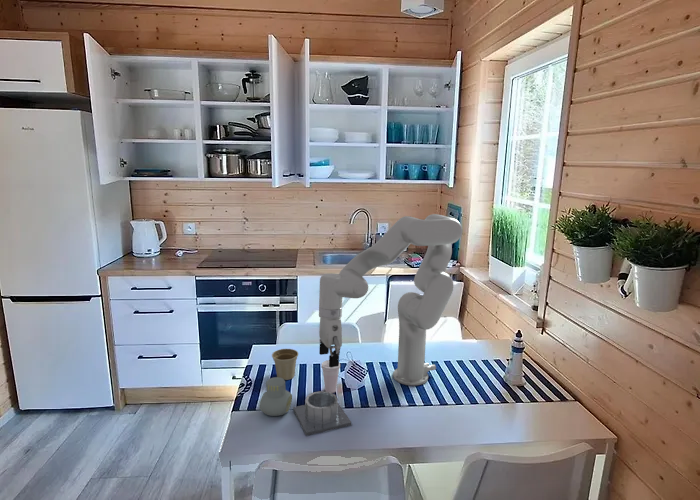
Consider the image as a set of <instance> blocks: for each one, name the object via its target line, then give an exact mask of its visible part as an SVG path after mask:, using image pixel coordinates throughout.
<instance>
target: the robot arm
mask: <svg viewBox="0 0 700 500" xmlns="http://www.w3.org/2000/svg"><path fill="white" fill-rule="evenodd" d="M462 234H463V226H462V224H461V223H460V222H459V220H457V219H456V218H453V217H451V216H450V217H449V216H446V215H442V214H438V213H437V214H436V213H432V214H429V215H427V216H426V217H425V219H420V218H417V217H414V216H407V215H404V216H402V217H400V218H399V219H398V220H397V221H396V222H395V223H394V224H393V225H392V226H391V227H390V228H389V229H388V230H387V231H386V232H385V233H384V234H383V235H382V236H381V237H380V238H379V239H378V240H377V241H376V243H374V244H373V245H372V246H370V247H368V248H366V249H364V250H363V251H362V252H360V253H357V255H355V256H354V257H353V258H352V259H350V261H349V262H348V263H347V264H346V265H345V266H344V267H343V268H342V269H341V270H340V271H339V273H338V274H337V273H324V274H322V275H321V276H320V277H319V295H318V296H319V298H318V299H319V302H318V317H319V330H318V334H319V355H320V356H321V355H328V354H329V356H328V360H329V367H337V366H339V363H340V362H339V361H340V353H341V348H342V346H343V344H342V343H343V341H342V340H343V326H342V316H343V314H342V313H343V298H348V299H360V298H363V297H364V296H366V295H367V293H368V291H369V283H368V282H367V280H366V279H365V278H364V276H365V275H366V274H367V273H368V272H370V271H371V270H373V269H375V268H377V267H382V266H387V265H390V264H392V263H394V262H395V261H396V260H397V259H398V258H399V256H400V255H401V254H403V253H404V251H405V250H407V248H408V247H409V246H410V245H413V246H417V247H427V250H426V252H425V254H424V257H423V259H422V261H421V263H420V264H419V267H418V269H417V271H416V272H415V275H414V279H413V283H414V286H415V287H416V289H418V290H419V291H421V292H422V293H423V295H421V294H420V293H417V292H415V291H409V292H406V293H404V294H402V295H401V296H400V298H399V300H398V303H397V314H398V316H397V317H398V327H399V328H398V349H397V350H398V351H397V368H396V369H394V370H393V372H392V377H393V379H394V380H395V381H396V382H397V383H400V384H402V385H405V386H413V387H414V386H420V385H424V384H426V383H427V381H428V380H429V374H428V373H429V371H436V370H437V366H436V365H435V364H430V363H429V362H425V361H426V360H425V359H426V356H425V355H426V340H427V330H430V329H433V328H434V327H435V326H436V325H437V324H438V322H439V321H440V319H441V317H442V315H443V313H444V312H445V310H446V307H447V305H448V304H449V301H450V299H451V297H452V295H453V291H454V281H453V278H452V277H451V275H449V273H447V272H446V270H447V268H448V265H449V263H450V261H451V258H452V254H453V248H452V247H453V246H452V244H454V243H457V242H458V241H459V240H460V238H461V237H462ZM333 349H334V350H333Z"/></svg>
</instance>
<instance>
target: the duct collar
mask: <svg viewBox="0 0 700 500" xmlns="http://www.w3.org/2000/svg"><path fill="white" fill-rule="evenodd" d="M292 408H293V412H294V414H295V416H296V418H297V420H298V422H299V424H300V426H301V428H302V430H303V432H304V435H305V437H308V436H312V435H317V434H321V433H325V432H328V431H333V430H337V429H341V428H347V427H350V426H352V421H351V420H350V418H349V416H348V415H347V413H346V412H345V411H344V409H343V407H342V406H341V405H340V403H339V399H338V397H337V395H336V394H335V393H330V392H326V391H325V390H324V391H323V390H319V391H315V392H312V393H309V394H308V395H307V396H306V398H305V400H304V404H302V405H298V406H293V407H292Z"/></svg>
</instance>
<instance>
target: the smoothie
mask: <svg viewBox="0 0 700 500" xmlns="http://www.w3.org/2000/svg"><path fill="white" fill-rule="evenodd" d="M340 368H341V363H340V362H339V366H337V367H329V359H328V360H323V362H321V369H322V375H323V380H324V382H323V383H324V391H325V392H330V393H333V394H335V393H336V392H337V386H338V379H339V373H340Z"/></svg>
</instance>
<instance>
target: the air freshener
mask: <svg viewBox="0 0 700 500" xmlns="http://www.w3.org/2000/svg"><path fill="white" fill-rule="evenodd" d="M292 402H293V394H292V393H291V392H290V391H289V390H287V389H286V380H285V379H283V378H280V377H277V376H275V377H271V378H269V379H267V381H266V383H265V392H263V394H262V396H261V398H260V402H259V410H260V411H261V412H262V413H263V414H264V415H267V416H270V417H278V416H279V417H280V416H282V415H285V414H288V412H289V410H290V409H291V406H292Z"/></svg>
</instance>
